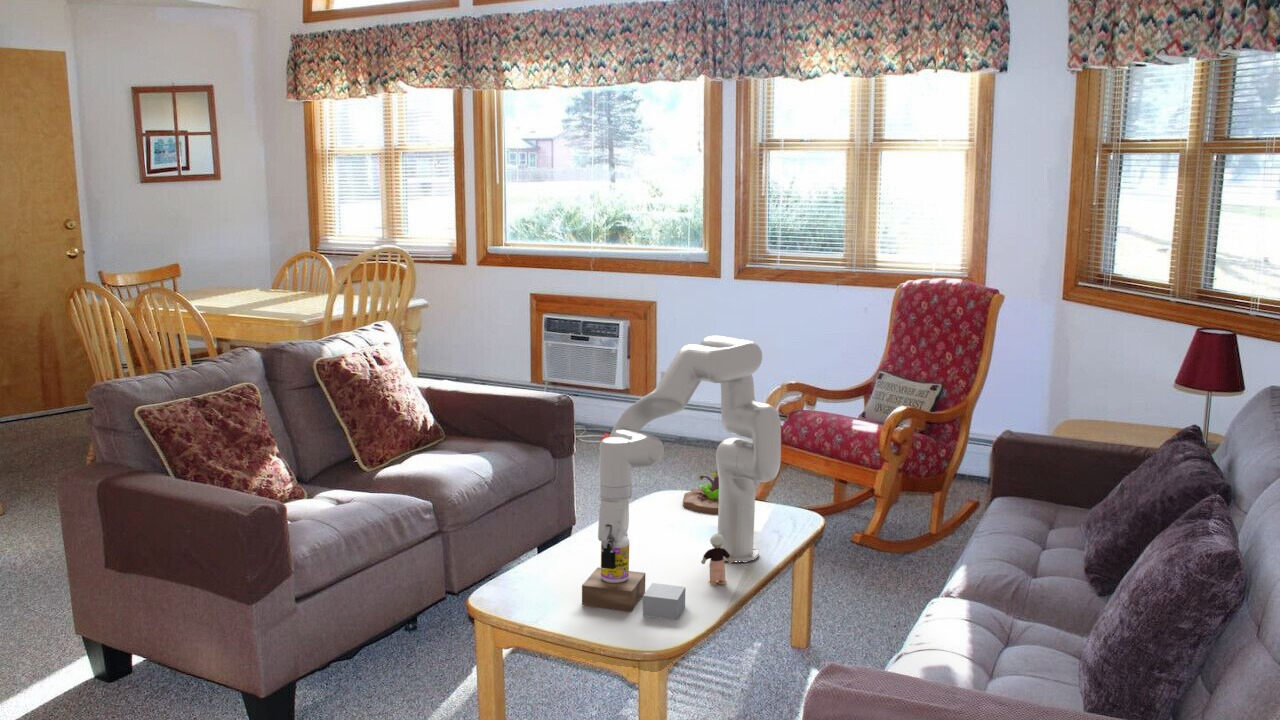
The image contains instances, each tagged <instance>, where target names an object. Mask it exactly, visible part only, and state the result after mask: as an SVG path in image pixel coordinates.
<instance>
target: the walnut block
mask: <svg viewBox="0 0 1280 720" xmlns="http://www.w3.org/2000/svg"><path fill="white" fill-rule="evenodd" d="M645 593H646V572H640V571H633V570H629V577H628V579H627V580H626V581H624V582H621V583H609V582H606V581H604V580H602V579H601V567H596V568H595V570H594V571H593V572H592V573H591V574H590V576H589V577H588V578H587V579H586V580H585V581H584V583H582V585H581V606H582V605H584V606H583V607H588V606H590V607H591V608H598V609H606V610H612V611H620V612H630V613H632V612H633V610H634V609H635V607H636V606H637V605H638V603H639V602H640V601H641V600H642V599H643V595H644V594H645ZM590 607H589V608H590Z"/></svg>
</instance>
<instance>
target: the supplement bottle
mask: <svg viewBox="0 0 1280 720" xmlns="http://www.w3.org/2000/svg"><path fill="white" fill-rule="evenodd" d="M625 532H626V527H625V528H624V530H623V536H622V538H621V539H620V540H619V541H618V542H616V544H615V549H614V552H615V568H614V569H608V568H602V567H601V566H600V568H601V579H602V580H604V581H606V582H609V583H621V582H624V581H626V580H627V579H628V577H629V571H630V539H629V537H628V535H627V536H625ZM609 539H614V538H609ZM601 544H602V541H601V543H600V545H601ZM608 544H610V546H612V543H609V542H608ZM601 548H602V547H601V546H600V549H601ZM601 556H602V552H601V551H600V557H601Z"/></svg>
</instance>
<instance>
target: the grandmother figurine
mask: <svg viewBox="0 0 1280 720" xmlns="http://www.w3.org/2000/svg"><path fill="white" fill-rule="evenodd" d="M709 541H710V544H711V546H712V548H713V547H714V549H712V548H710V549H708V550H707V551H705V553H704V554H703V556H702V559H701V561H700V562H701V564H702V565H705V564H706V561H707V560H709V559H710V560H709V580H708V584H709V583H710V584H711V586H712V585H716V586H718V584H719V583H720V584H725V583H726V584H727V580H726V566H725V561H724V559H723V556H724V557H725V558H726V559H727V560H728V562H727V563H728V564H733V563H732V560H731V557H730V555H729V553H728V552H727V551H726V550H725V549H723V548H720V547H721V546H722V544H723V542H724V539H723V536H722V535H721V534H718V533H715V534H713V535H712V536H710V539H709ZM718 582H719V583H718ZM710 584H709V585H710ZM720 584H719V585H720ZM726 584H725V585H726Z"/></svg>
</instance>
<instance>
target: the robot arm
mask: <svg viewBox="0 0 1280 720" xmlns="http://www.w3.org/2000/svg"><path fill="white" fill-rule="evenodd" d="M762 361H763V351H762V349H761V347H760V346H759V344H758V343H756V342H755V341H752V340H747V339H742V338H736V337H730V336H724V335H708V336H706V337H705V338H703V339H702V340H701V342H700V344H693V343H691V344H686V345H683V346H682V347H681V348H679V350H678V352H677V353H676V355H675V356H674V358H673V359H672V360H671V363H670V364H669V366H668V367H667V369H666V371H665V373H664V374H663V375H662V377H661V378H660V381H659V382H658V383H657V385H656V386H655V388H654V389H653V391H651V392H650V393H648V394H646V395H644V396H643V397H640V399H638V400H637V401H635V402H634V403H633V404H631V405H630V406H629V407H627V409H625V410H624V411H623V413H622V414H621V416H620V417H619V418H618V420H617V422H616V423H615V424H614V427H613V428H612V430H611V433H610V434H609V437H608V436H607V437H605V438H603V439H602V440H601V442H600V443H599V459H598V460H599V465H598V466H599V467H598V468H599V473H598V476H599V477H598V479H599V480H598V483H599V484H598V486H599V487H598V488H599V489H598V498H599V499H600V504H599V505H600V506H599V513H598V531H597V540H599V541H602V544H601V543H600V553H601V552H602V556H601V555H600V568H601V567H602V568H608V569H614V568H615V552H614V549H615V544H616V542H618V541H619V540H620V539H621V538H622V536H623V530H624V528H625V527H626V532H625V536H627V537H628V530H629V526H630V525H629V524H630V519H629V518H630V512H629V509H630V504H629V500H630V499H631V498H632V485H633V484H632V479H633V478H632V476H633V475H632V471H633V468H647V467H651V466H654V465H657V464H658V463H659V462H660V461H661V460H662V459H663V456H664V454H665V446H664V444H663V442H662V441H661V439H660V438H658V437H656V436H655V435H652V434H649V433H645V432H641V430H642V429H643V428H644V427H645V426H646V425H647V424H648V423H651V422H652V421H653V420H654V421H655V420H656V419H659V418H662V417H665V416H671V415H673V414H676V413H679V412H682V411H684V409H685V408H686V407H687V405H688V403H689V401H690V400H691V398H692V396H693V395H694V393H695V391H696V390H697V388H698V387H699V385H700V383H701V382H707V383H713V384H720V407H721V408H720V409H721V412H720V415H721V416H720V417H721V424H722V428H723V429H724V430H725V431H726V432H727V433H730V434H732V435H735V436H739V437H740V438H739V437H729V438H726V439H725V438H724V439H723V440H722V441H721V442H720V443H718V444H719V445H718V446H717V449H716V452H715V462H716V467H717V468H716V469H717V475H719V506H718V515H717V516H718V517H717V534H721V535H722V536H723V539H724V542H723V544H722V546H721V547H720V548H723V549H725V550H726V551H727V552H728V553H729V555H730V557H731V560H732V562H735V561H737V562H739V561H740V562H743V561H750V560H753V559H755V560H757V559H758V558H759V557H758V556H760V551H759V550H758V548H757V547H755V546H754V537H755V536H754V535H755V512H756V511H755V509H756V507H755V506H756V505H755V504H756V488H755V487H756V486H755V483H754V481H758V482H761V483H768V482H769V483H770V482H771V481H773V480H774V479H775V478H777V476H778V474H779V471H780V467H781V459H782V457H781V456H782V455H781V454H782V453H781V452H782V448H781V447H782V426H781V425H782V423H781V417H780V414H779V412H778V410H777V409H776V408H775V407H774V406H772V404H771V405H770V404H768V403H764V402H759V401H756V398H755V384H754V377H753V374H754V373H756V372H757V370H758V369H759V368H760V367H761V365H762ZM741 437H744V438H741ZM746 438H748V439H746ZM749 439H752V440H749ZM609 538H614V539H609ZM608 542H609V543H612V546H610V544H608ZM601 547H602V548H601ZM711 549H714V547H713V546H712V548H711ZM757 557H758V558H757ZM756 558H757V559H756ZM723 559H724V562H725V561H728V560H727V559H726V558H725V557H724V556H723ZM753 561H754V560H753ZM750 562H751V561H750Z"/></svg>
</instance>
